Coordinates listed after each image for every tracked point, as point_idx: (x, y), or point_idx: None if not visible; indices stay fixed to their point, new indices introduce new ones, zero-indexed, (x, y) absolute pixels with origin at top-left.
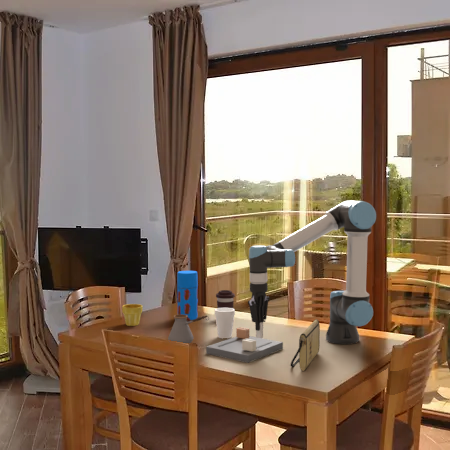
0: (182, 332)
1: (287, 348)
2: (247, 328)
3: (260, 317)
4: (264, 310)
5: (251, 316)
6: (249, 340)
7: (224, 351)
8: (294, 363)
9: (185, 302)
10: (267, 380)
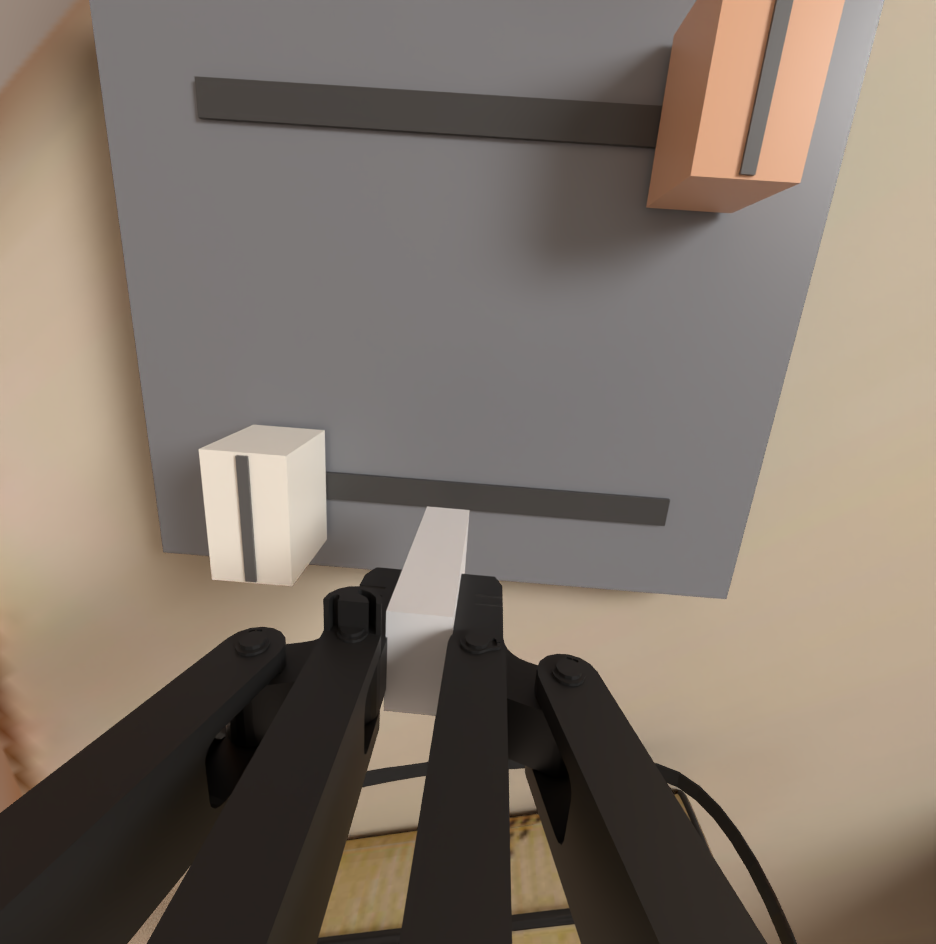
0: None
1: (731, 590)
2: (810, 139)
3: (353, 800)
4: (595, 940)
5: (136, 718)
6: (241, 528)
7: (132, 273)
8: (392, 769)
9: None
10: (22, 771)
